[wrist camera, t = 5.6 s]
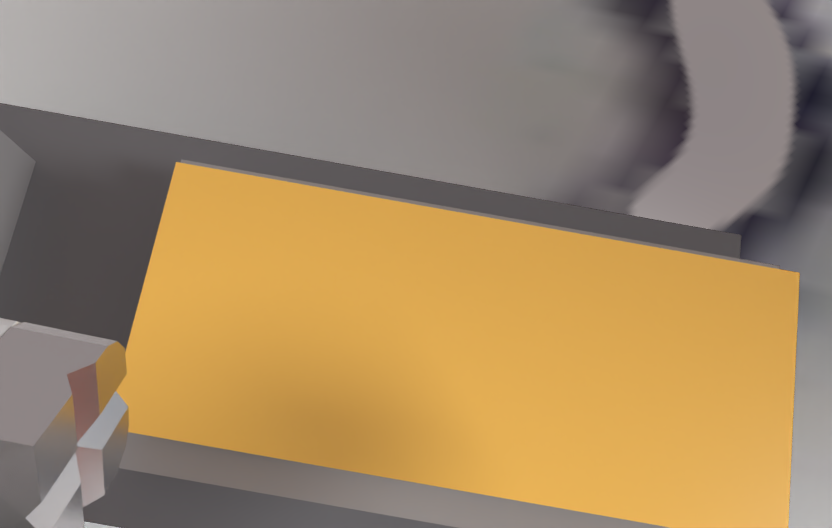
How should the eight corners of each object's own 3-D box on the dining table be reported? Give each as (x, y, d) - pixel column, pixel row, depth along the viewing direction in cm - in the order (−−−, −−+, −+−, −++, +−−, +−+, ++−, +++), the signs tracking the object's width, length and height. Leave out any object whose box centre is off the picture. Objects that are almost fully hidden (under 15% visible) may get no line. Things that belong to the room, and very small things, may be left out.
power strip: (657, 276, 25) (783, 191, 17) (627, 588, 22) (760, 653, 15) (-274, 111, 25) (-570, -50, 17) (-401, 407, 22) (-815, 378, 15)
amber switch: (759, 290, 16) (799, 272, 15) (744, 539, 15) (787, 548, 14) (195, 190, 16) (175, 161, 15) (132, 431, 15) (105, 428, 13)
